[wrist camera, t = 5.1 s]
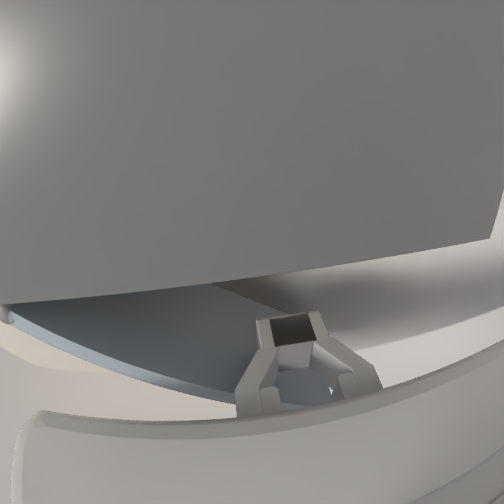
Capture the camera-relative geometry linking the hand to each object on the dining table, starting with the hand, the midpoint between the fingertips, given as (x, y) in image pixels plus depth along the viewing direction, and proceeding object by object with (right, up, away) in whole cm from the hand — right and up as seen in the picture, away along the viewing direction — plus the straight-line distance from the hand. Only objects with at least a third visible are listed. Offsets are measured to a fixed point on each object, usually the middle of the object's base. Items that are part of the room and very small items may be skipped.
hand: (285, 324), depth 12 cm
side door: (-5, +1, +2) cm, 6 cm away
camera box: (-3, +10, -3) cm, 11 cm away
